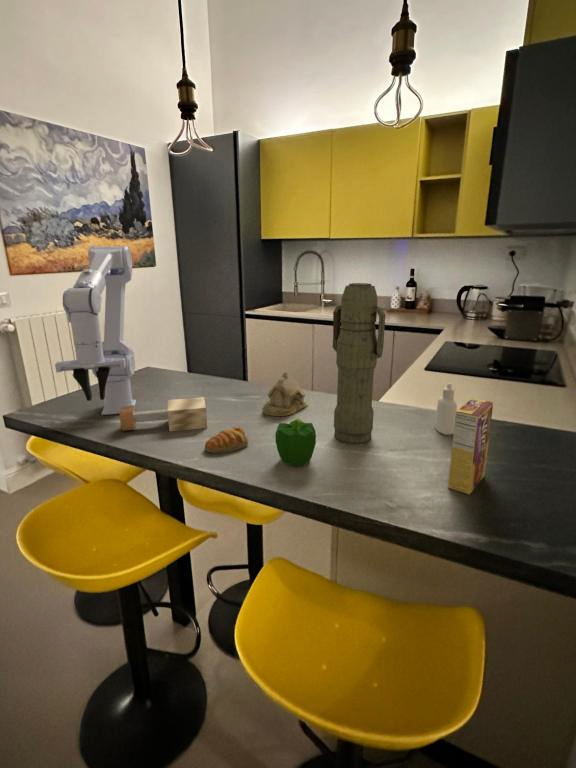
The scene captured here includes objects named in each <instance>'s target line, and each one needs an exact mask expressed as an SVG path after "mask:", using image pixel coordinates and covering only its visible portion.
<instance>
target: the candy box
mask: <svg viewBox="0 0 576 768" xmlns="http://www.w3.org/2000/svg"><path fill="white" fill-rule="evenodd" d="M493 408H494V402H493V401H488V400H483V399H479V398H471V399H469V400H468V401H467V402H466V403H465V404H464V405H462V406H461V407H460V408H457V411H456V414H455V425H454V433H453V434H452V445H451V454H450V464H449V465H450V466H449V474H448V485H447V487H448V489H452V490H454V491H457V492H460V493H463V494H465V495H471V493H472V492H473V491H474V490H475V488H476V487H477V486H478V484H479V483H480V482H481V481H482V480H483V478H484V477H485V474H486V467H487V466H486V465H487V459H488V450H489V449H488V448H489V442H490V433H491V426H492V417H493Z"/></svg>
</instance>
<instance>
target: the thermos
mask: <svg viewBox="0 0 576 768" xmlns="http://www.w3.org/2000/svg"><path fill="white" fill-rule="evenodd" d="M340 299H341V300H340V305H337V306H336V307H335V309H334V310H333V314H332V315H333V316H332V320H333V321H332V324H333V325H332V329H333V330H332V331H333V332H332V333H333V334H332V335H333V336H332V338H333V339H332V349H333V350H334V352H336V357H335V358H336V361H335V364H336V366H337V395H336V405H335V407H334V410H333V412H334V413H333V428H334V435H333V437H334V440H336V441H337V442H338V443H340V444H344V445H346V446H347V445H348V446H362V445H366V444H368V443H370V442H371V441H372V432H373V428H374V416H375V415H374V407H373V389H374V374H375V368H376V366H377V361H378V360H377V359H380V358H382V356H383V353H384V341H385V339H384V338H385V327H386V314H385V312H384V310H383V308H382V307H381V308H380V306H378V301H379V300H378V299H379V298H378V295H377V289H376V287H375V285H372V283H368V282H367V283H364V282H363V283H362V282H352V283H349V284H348V285H345V287H344V289H343V292H342V296H341V298H340ZM377 315H378V317H379V318H378V329H376V323H377ZM376 332H377V334H376Z"/></svg>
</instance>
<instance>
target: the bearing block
mask: <svg viewBox="0 0 576 768" xmlns="http://www.w3.org/2000/svg"><path fill="white" fill-rule="evenodd" d="M206 405H207V404H206V402H205V397H204V396H202V397H190V398H178V399H177V398H175V399H168V400H167V409H168V419H167V420H168V421H167V422H168V430H169V432H176V431H177V432H179V431H180V432H181V431H189V430H198V429H199V430H200V429H207V428H208V419H207V406H206Z"/></svg>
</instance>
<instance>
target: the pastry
mask: <svg viewBox="0 0 576 768" xmlns="http://www.w3.org/2000/svg"><path fill="white" fill-rule="evenodd" d="M248 444H249V440H248V436H247V435H246V432H245V430H244V429H243V428H242V427H241V426H237V427H236V426H234V427H233V428H229V429H226V430H223V429H222V430H221V431H219V432H218V433H217V434H216V435H214V436H212V437H210V438H208V440H207V441H205V445H204V450H206V451H207V452H209V453H212V454H221V453H229V452H233V451H237V450H239V449H240V450H241V449H243V448H246V447H247V446H248Z"/></svg>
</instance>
